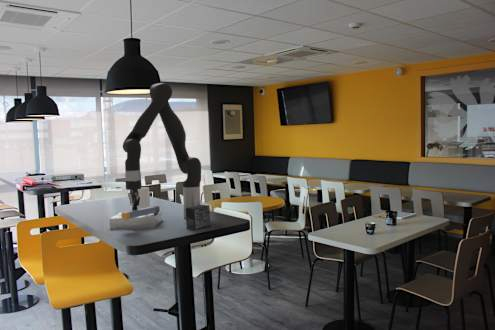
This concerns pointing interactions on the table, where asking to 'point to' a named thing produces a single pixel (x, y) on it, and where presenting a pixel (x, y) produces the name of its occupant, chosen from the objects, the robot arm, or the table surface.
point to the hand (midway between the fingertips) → (135, 214)
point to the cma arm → (140, 212)
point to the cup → (144, 198)
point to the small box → (198, 217)
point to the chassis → (136, 221)
